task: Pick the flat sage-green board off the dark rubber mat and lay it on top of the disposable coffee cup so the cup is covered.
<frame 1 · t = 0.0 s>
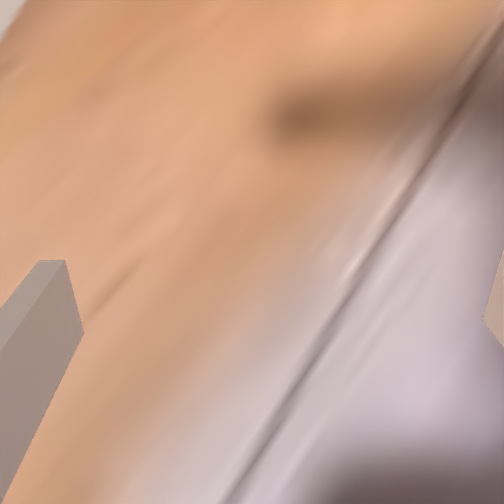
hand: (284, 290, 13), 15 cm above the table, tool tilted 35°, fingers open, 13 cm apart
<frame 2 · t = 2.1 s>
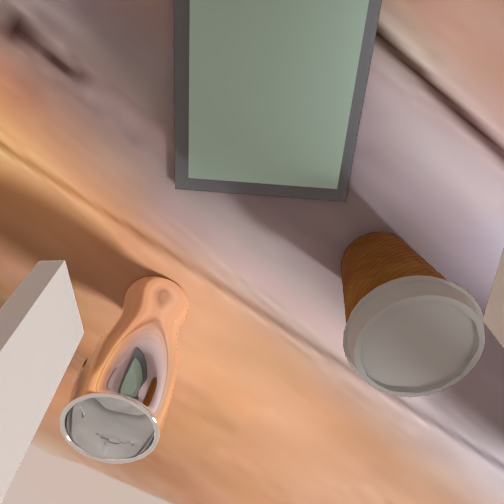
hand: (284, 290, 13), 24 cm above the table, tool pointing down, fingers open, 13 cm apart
rubber mat: (270, 76, 33), on the table
beer glass: (157, 301, 42), on the table
disposable coffee cup: (375, 262, 40), on the table
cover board: (270, 77, 32), point 1 cm above the table, touching rubber mat
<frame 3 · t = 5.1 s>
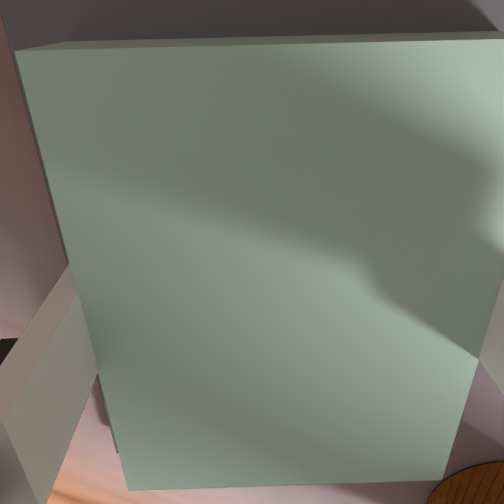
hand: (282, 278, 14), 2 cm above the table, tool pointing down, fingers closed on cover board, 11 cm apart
rubber mat: (278, 255, 15), on the table
disposable coffee cup: (484, 495, 23), on the table
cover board: (281, 270, 15), point 1 cm above the table, touching gripper, rubber mat
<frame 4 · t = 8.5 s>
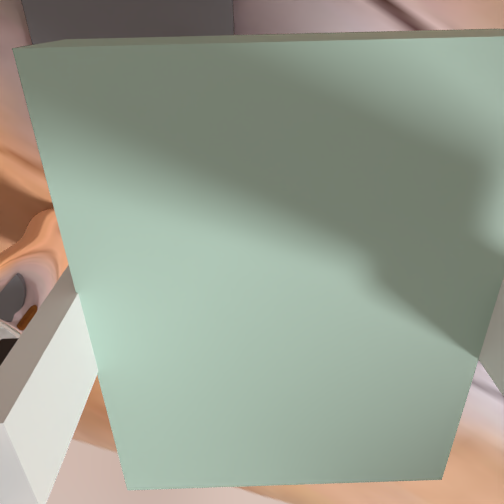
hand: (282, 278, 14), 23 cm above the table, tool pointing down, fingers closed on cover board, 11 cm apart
beer glass: (64, 237, 39), on the table
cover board: (280, 269, 14), point 23 cm above the table, touching gripper
when the fingers open (13 cm above the table, at t = 11.9 s): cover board drops 1 cm, resting on disposable coffee cup.
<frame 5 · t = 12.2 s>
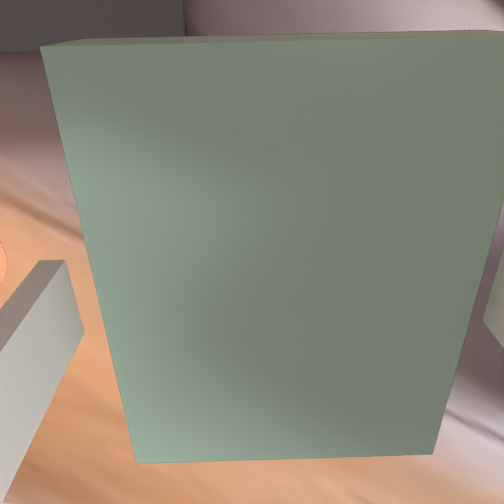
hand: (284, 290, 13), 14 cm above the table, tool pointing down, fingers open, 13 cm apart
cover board: (280, 255, 15), point 12 cm above the table, touching disposable coffee cup
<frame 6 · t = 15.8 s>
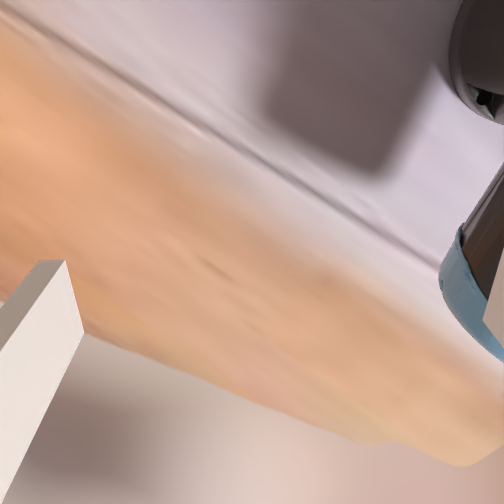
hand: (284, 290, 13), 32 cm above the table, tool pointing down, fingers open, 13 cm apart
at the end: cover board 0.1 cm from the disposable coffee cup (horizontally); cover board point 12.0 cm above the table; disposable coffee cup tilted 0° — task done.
